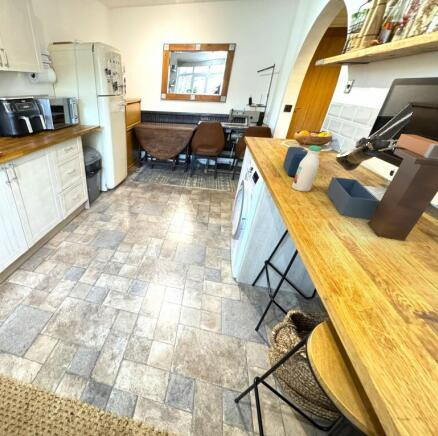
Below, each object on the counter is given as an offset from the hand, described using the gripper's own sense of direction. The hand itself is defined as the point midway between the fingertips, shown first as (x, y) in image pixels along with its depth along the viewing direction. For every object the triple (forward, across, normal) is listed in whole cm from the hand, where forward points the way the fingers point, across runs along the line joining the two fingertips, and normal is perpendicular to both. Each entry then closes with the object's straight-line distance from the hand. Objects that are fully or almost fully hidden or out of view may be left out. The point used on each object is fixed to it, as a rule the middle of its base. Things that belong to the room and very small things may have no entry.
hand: (391, 137), depth 89 cm
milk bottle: (-19, -21, +20) cm, 35 cm away
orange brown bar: (+15, 0, +10) cm, 18 cm away
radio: (-42, -21, +7) cm, 48 cm away
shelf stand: (+7, 0, +35) cm, 35 cm away
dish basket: (-9, -6, +26) cm, 28 cm away
